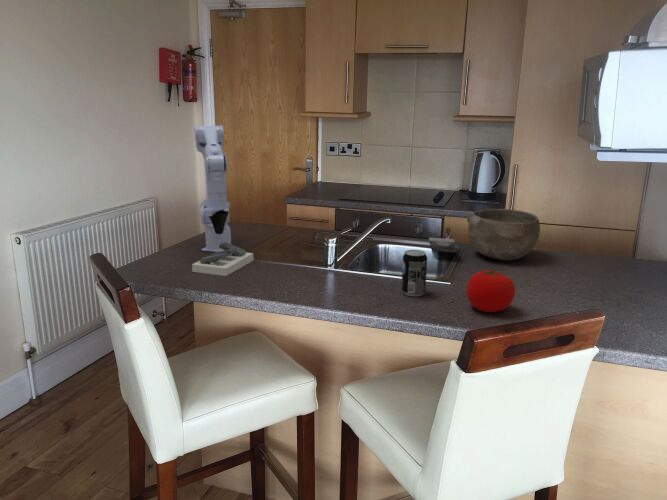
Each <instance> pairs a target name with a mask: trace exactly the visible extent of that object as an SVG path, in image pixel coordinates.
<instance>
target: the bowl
mask: <svg viewBox="0 0 667 500" xmlns="http://www.w3.org/2000/svg"><path fill="white" fill-rule="evenodd" d="M466 222H467V223H468V226H467V228H468V229H467V231H468V239H469V242H470V243H471V245H472V247H473V248H474V249H475V250H476V251H477V252H478V253H480V254H481V255H483V256H485V257H487V258H490V259H495V260H499V261H506V262H507V261H515V260H519V259H520V258H523V257H524V256H526V255H527V254H529V253H530V252H531V251H532V250H533V249H534V248H535V246H536V245H537V244H538V243H537V242H538V241H539V237H540V232H541V224H540V219H539V218H538V216H537V215H535V214H534V213H531V212H527V211H523V210H518V209H510V208H486V209H481V210H476V211H474V212H472V213H471V215H470V216H468V217H467V219H466Z"/></svg>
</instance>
